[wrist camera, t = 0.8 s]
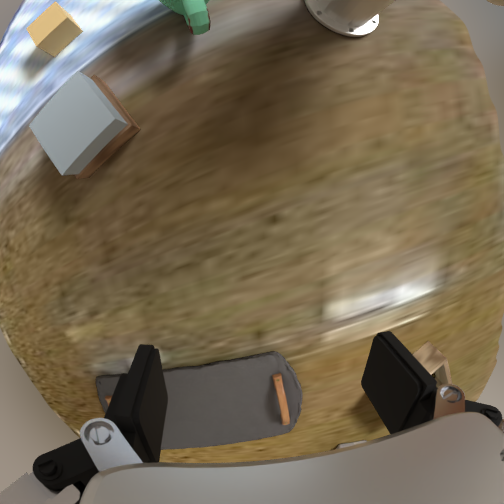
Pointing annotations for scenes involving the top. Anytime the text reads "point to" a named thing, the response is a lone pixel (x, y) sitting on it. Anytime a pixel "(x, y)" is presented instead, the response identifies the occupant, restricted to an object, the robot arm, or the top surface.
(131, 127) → the walnut block
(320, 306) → the top surface
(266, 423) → the serving board
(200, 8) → the mug
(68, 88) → the slate block
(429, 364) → the coaster caddy
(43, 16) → the ochre cube
